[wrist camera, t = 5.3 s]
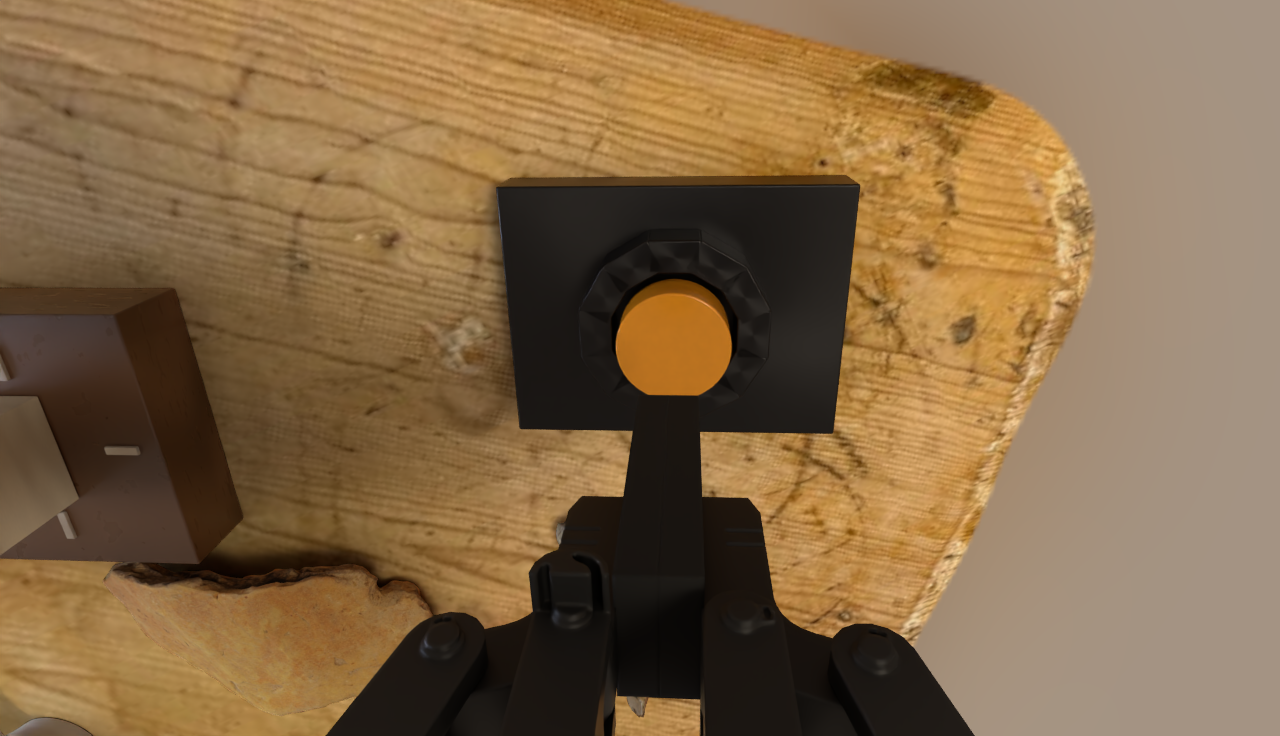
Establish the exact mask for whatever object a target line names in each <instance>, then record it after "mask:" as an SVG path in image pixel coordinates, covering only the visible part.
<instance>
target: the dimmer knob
mask: <svg viewBox="0 0 1280 736" xmlns="http://www.w3.org/2000/svg"><path fill="white" fill-rule="evenodd" d="M78 499H79V497H78V494H77V492H76V489H75V487H74V485H73V482H72V480H71V477H70V475H69V472H68V470H67V467H66V465H65V463H64V460H63V458H62V455H61V453H60V450H59V448H58V445H57V443H56V441H55V438H54V436H53V433H52V431H51V428H50V426H49V423H48V421H47V418H46V416H45V414H44V411H43V409H42V406H41V404H40V401H39V399H38V397H37V396H0V555H1V554H3V553H4V552H6V551H7V550H8V549H10V548H11V547H13V546H14V545H15V544H17V543H18V542H20V541H21V540H22V539H24V538H25V537H27V536H28V535H29V534H31V533H32V532H34V531H35V530H36V529H38V528H39V527H40V526H42V525H43V524H45V523H46V522H47V521H49V520H50V519H52V518H53V517H54V516H56V515H57V514H59V513H60V512H61V511H63V510H64V509H66V508H67V507H68V506H70V505H71V504H73V503H74V502H75V501H77V500H78Z"/></svg>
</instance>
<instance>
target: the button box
mask: <svg viewBox="0 0 1280 736" xmlns="http://www.w3.org/2000/svg"><path fill="white" fill-rule="evenodd" d="M496 193H497V203H498V213H499V223H500V233H501V243H502V254H503V264H504V274H505V284H506V294H507V304H508V315H509V325H510V335H511V345H512V355H513V366H514V376H515V386H516V396H517V406H518V416H519V427H520V429H546V430H614V431H633V427H634V420H635V414H636V407H637V400H638V395H648V394H646V393H644V392H642V391H641V390H639V389H638V388H637V387H635V386H634V385H633V384H632V383H631V382H630V381H629V380H628V379H627V377H626V376H625V375H624V373H623V371H622V370H621V368H620V365H619V363H618V359H617V355H616V337H617V332H618V328H619V324H620V320H621V317H622V314H623V311H624V309H625V307H626V305H627V304H628V302H629V301H630V299H631V298H632V297H633V296H634V295H635V294H636V293H637V292H638V291H640V290H641V289H643V288H644V287H646V286H648V285H650V284H652V283H654V282H657V281H661V280H666V279H682V280H687V281H691V282H694V283H697V284H699V285H701V286H703V287H704V288H706V289H708V290H709V291H710V292H711V293H712V294H714V295H715V297H716V298H717V299H718V300H719V301H720V303H721V304H722V306H723V308H724V310H725V312H726V315H727V318H728V323H729V329H730V335H731V341H732V352H731V358H730V362H729V365H728V367H727V369H726V371H725V373H724V374H723V376H722V377H721V378H720V380H719V381H718V382H717V383H716V384H715V385H714V386H713V387H711V388H710V389H709V390H707V391H706V392H704V393H702V394H700V395H699V419H700V432H751V433H819V434H832V433H833V430H834V421H835V412H836V403H837V394H838V385H839V376H840V366H841V357H842V348H843V339H844V330H845V321H846V312H847V302H848V293H849V284H850V275H851V266H852V257H853V248H854V239H855V229H856V220H857V211H858V202H859V193H860V184H858V183H857V182H855V181H854V180H852V179H851V178H850V177H848V176H846V175H819V176H693V177H567V178H510V179H508V180H507V181H505V182H504V183H502V184H501V185H499V186H498V187H496Z"/></svg>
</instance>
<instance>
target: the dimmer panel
mask: <svg viewBox="0 0 1280 736" xmlns="http://www.w3.org/2000/svg"><path fill="white" fill-rule="evenodd" d="M0 396H37V397H38V399H39V401H40V404H41V406H42V409H43V411H44V414H45V416H46V418H47V421H48V423H49V426H50V428H51V431H52V433H53V436H54V438H55V441H56V443H57V445H58V448H59V450H60V453H61V455H62V458H63V460H64V463H65V465H66V467H67V470H68V472H69V475H70V477H71V480H72V482H73V485H74V487H75V489H76V492H77V494H78V497H79V499H78V500H77V501H75V502H74V503H73V504H71V505H70V506H68V507H67V508H66V509H64V510H63V511H61V512H60V513H59V514H57V515H56V516H54V517H53V518H52V519H50V520H49V521H47V522H46V523H45V524H43V525H42V526H40V527H39V528H38V529H36V530H35V531H34V532H32V533H31V534H29V535H28V536H27V537H25V538H24V539H22V540H21V541H20V542H18V543H17V544H15V545H14V546H13V547H11V548H10V549H8V550H7V551H6V552H4V553H3V554H1V555H0V559H35V560H71V561H107V562H143V563H180V564H199V563H200V562H201V561H202V560H203V559H204V558H205V557H206V556H207V555H208V554H209V553H210V552H211V551H212V550H213V549H214V548H215V547H216V546H217V545H218V544H219V543H220V542H221V541H222V540H223V539H224V538H225V537H226V536H227V535H228V534H229V533H230V532H231V530H232V529H233V528H234V527H235V526H236V525H237V524H238V523H239V522H240V521H241V520H242V519H243V516H242V512H241V509H240V506H239V502H238V499H237V496H236V492H235V489H234V486H233V482H232V479H231V476H230V472H229V469H228V466H227V462H226V459H225V455H224V452H223V449H222V445H221V442H220V439H219V435H218V432H217V429H216V425H215V422H214V419H213V415H212V412H211V409H210V405H209V402H208V399H207V395H206V392H205V389H204V385H203V382H202V379H201V375H200V372H199V368H198V365H197V362H196V358H195V355H194V352H193V348H192V345H191V342H190V338H189V335H188V332H187V328H186V325H185V322H184V318H183V315H182V312H181V308H180V305H179V302H178V298H177V295H176V292H175V289H174V288H0Z"/></svg>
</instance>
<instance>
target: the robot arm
mask: <svg viewBox="0 0 1280 736" xmlns="http://www.w3.org/2000/svg"><path fill="white" fill-rule="evenodd" d="M529 579H530V589H531V598H532V607H533V612H532V613H531V614H529V615H528V616H526V617H524V618H522V619H520V620H518V621H515V622H512V623H509V624H506V625H501V626H497V627H492V628H488V629H484V627H483V626H482V624H481V623H480V622H479V621H478V619H477V618H475V617H473V616H470V615H468V614H466V613H456V612H448V613H443V614H439V615H434V616H432V617H430V618H428V619H426V620H424V621H422V622H420V623H419V624H418V625H417V626H416V627H414V628H413V629H412V630H411V631H410V632H409V633H408V634H407V635H406V636H405V638H404V639H403V640H402V641H401V643H400V644H399V645H398V646H397V648H396V649H395V650H394V651H393V653H392V654H391V655H390V656H389V658H388V659H387V660H386V661H385V663H384V664H383V665H382V666H381V668H380V669H379V670H378V671H377V673H376V674H375V675H374V676H373V678H372V679H371V680H370V681H369V683H368V684H367V685H366V686H365V688H364V689H363V690H362V691H361V692H360V694H359V695H358V696H357V697H356V699H355V700H354V701H353V702H352V704H351V705H350V706H349V707H348V709H347V710H346V711H345V712H344V714H343V715H342V716H341V717H340V719H339V720H338V721H337V722H336V724H335V725H334V726H333V727H332V729H331V730H330V731H329V732H328V734H327V735H326V736H615V727H616V717H615V698H616V689H617V696H627V697H652V698H677V699H700V736H974V734H973V733H972V731H971V730H970V728H969V727H968V725H967V724H966V723H965V721H964V720H963V718H962V717H961V715H960V714H959V712H958V711H957V710H956V708H955V707H954V705H953V704H952V702H951V701H950V700H949V698H948V697H947V695H946V694H945V692H944V691H943V689H942V688H941V686H940V685H939V684H938V682H937V681H936V679H935V678H934V677H933V675H932V674H931V672H930V671H929V669H928V668H927V666H926V665H925V663H924V662H923V660H922V659H921V658H920V656H919V655H918V653H917V652H916V650H915V649H914V648H913V647H912V646H911V645H910V644H909V643H908V642H907V641H906V640H905V639H904V638H903V637H902V636H900V635H899V634H897V633H895V632H893V631H892V630H890V629H888V628H885V627H881V626H878V625H874V624H853V625H850V626H847V627H844V628H842V629H841V630H840V631H839V632H838V633H837V634H836V635H835V636H834V637H833V638H830V637H826V636H823V635H819V634H816V633H813V632H810V631H807V630H805V629H802V628H800V627H798V626H797V625H795V624H793V623H792V622H790V621H789V620H788V619H787V618H786V617H785V616H784V615H783V614H782V613H781V612H780V610H779V608H778V607H777V606H776V603H775V600H774V596H773V590H772V584H771V577H770V571H769V565H768V559H767V552H766V547H765V540H764V534H763V527H762V521H761V515H760V512H759V511H758V510H757V508H756V507H755V506H754V505H753V504H752V502H751V501H750V500H749V499H748V498H723V497H702V480H701V449H700V419H699V395H638V400H637V407H636V414H635V420H634V427H633V434H632V441H631V448H630V455H629V462H628V469H627V475H626V482H625V489H624V496H623V497H599V496H582V497H581V498H580V499H579V500H578V501H577V502H576V503H575V504H574V505H573V506H572V507H571V508H570V509H569V511H568V515H567V518H566V522H565V526H564V530H563V534H562V538H561V544H560V545H559V549H558V550H556V551H553V552H551V553H548V554H545V555H544V556H543V557H541V558H540V559H539V560H538V561H536V562H535V563H534V565H533V566H532V568H531V570H530V572H529Z"/></svg>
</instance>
